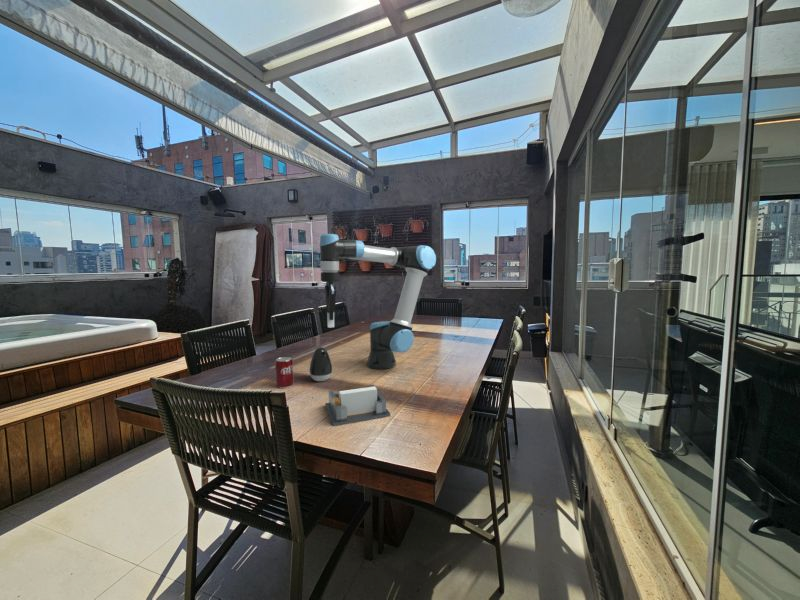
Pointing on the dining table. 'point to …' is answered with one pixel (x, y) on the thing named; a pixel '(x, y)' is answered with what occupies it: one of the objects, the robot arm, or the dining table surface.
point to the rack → (340, 414)
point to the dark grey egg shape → (320, 365)
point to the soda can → (284, 372)
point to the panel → (358, 400)
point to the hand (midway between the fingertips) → (331, 327)
